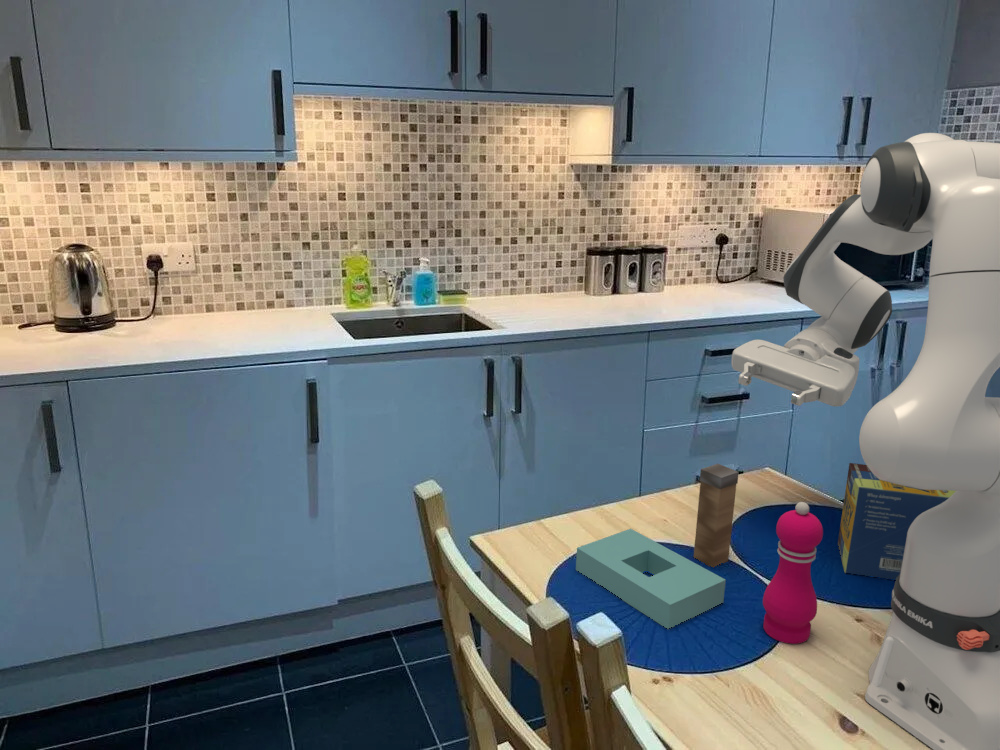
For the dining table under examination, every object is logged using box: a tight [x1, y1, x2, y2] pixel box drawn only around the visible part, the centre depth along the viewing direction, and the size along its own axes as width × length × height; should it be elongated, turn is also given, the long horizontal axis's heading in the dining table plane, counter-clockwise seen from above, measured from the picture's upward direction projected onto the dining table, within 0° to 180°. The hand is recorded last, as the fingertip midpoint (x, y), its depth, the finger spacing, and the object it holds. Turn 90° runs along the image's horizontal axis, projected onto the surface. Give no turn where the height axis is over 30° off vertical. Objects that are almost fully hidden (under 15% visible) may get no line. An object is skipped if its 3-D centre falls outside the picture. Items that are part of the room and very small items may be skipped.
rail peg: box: [693, 463, 739, 568], centre depth 131 cm, size 4×4×16 cm
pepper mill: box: [762, 501, 824, 645], centre depth 111 cm, size 7×7×20 cm
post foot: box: [575, 528, 727, 630], centre depth 125 cm, size 20×12×4 cm, turn 36°
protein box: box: [837, 462, 956, 581], centre depth 131 cm, size 10×15×16 cm
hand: (768, 390), depth 131 cm, fingers open, 8 cm apart
